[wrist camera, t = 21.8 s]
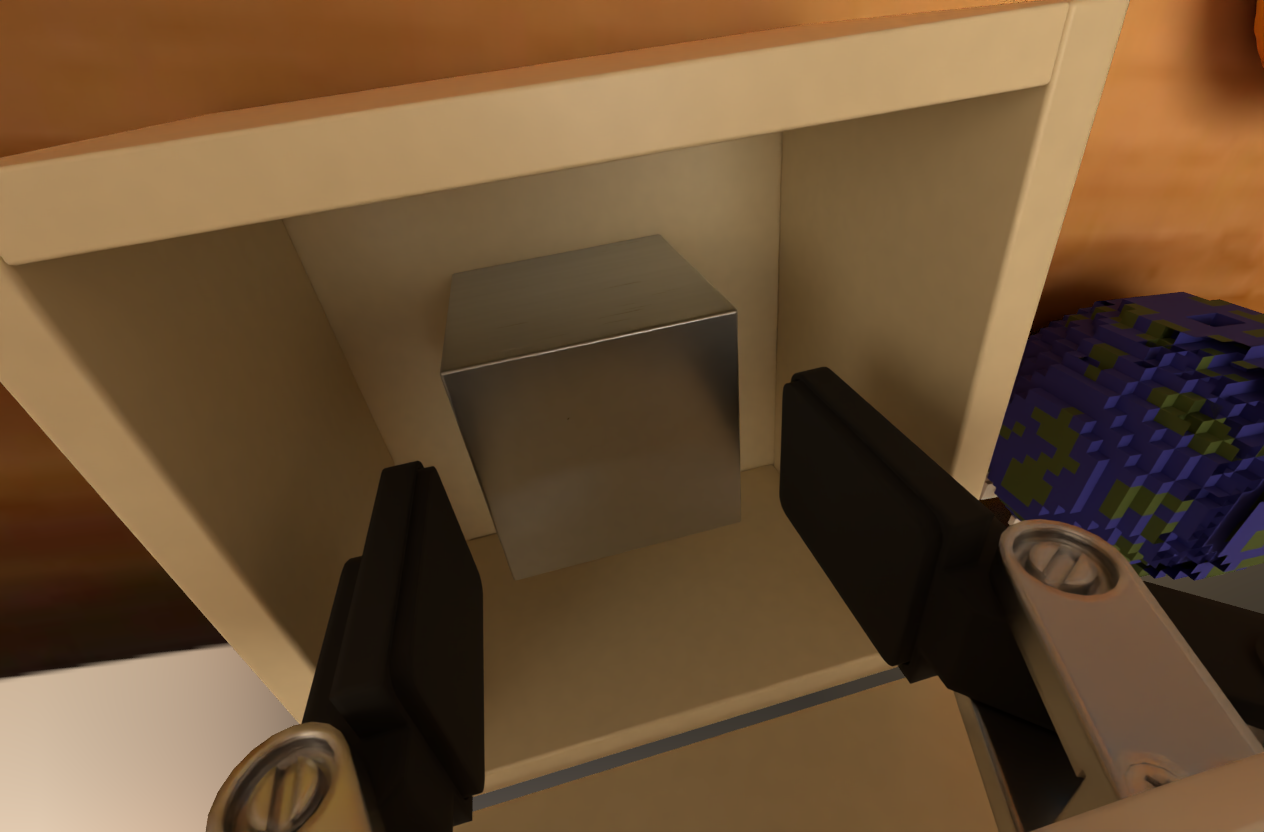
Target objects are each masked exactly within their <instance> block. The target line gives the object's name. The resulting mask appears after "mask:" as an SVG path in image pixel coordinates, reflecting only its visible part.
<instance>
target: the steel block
mask: <svg viewBox="0 0 1264 832" xmlns="http://www.w3.org/2000/svg"><path fill="white" fill-rule="evenodd" d="M440 377H441V379H442V382H443V385H444V388H445V391H446V393H447V396H448V399H449V402H450V404H451V407H452V410H453V413H454V416H455V418H456V421H457V424H458V427H459V429H460V432H461V435H462V438H463V440H464V443H465V446H466V449H467V452H468V454H469V457H470V460H471V463H472V465H473V468H474V471H475V474H476V477H477V479H478V482H479V485H480V488H481V490H482V493H483V496H484V499H485V501H486V504H487V507H488V510H489V513H490V515H491V518H492V521H493V524H494V526H495V529H496V532H497V535H498V537H499V540H500V543H501V546H502V549H503V551H504V554H505V557H506V560H507V562H508V565H509V568H510V571H511V574H512V576H513V579H514V580H520V579H524V578H528V577H532V576H535V575H539V574H543V573H547V572H551V571H555V570H558V569H562V568H566V567H570V566H574V565H577V564H581V563H585V562H589V561H593V560H597V559H600V558H604V557H608V556H612V555H616V554H620V553H623V552H627V551H631V550H635V549H639V548H643V547H646V546H650V545H654V544H658V543H662V542H666V541H669V540H673V539H677V538H681V537H685V536H689V535H692V534H696V533H700V532H704V531H708V530H712V529H715V528H719V527H723V526H727V525H731V524H735V523H738V522H740V521H741V479H740V423H739V368H738V313H737V309H736V308H735V307H734V306H733V305H732V304H731V303H730V302H729V301H728V300H727V299H726V298H725V297H724V296H722V295H721V294H720V293H719V292H718V291H717V290H716V289H715V288H714V287H713V286H712V285H711V284H710V283H709V282H708V281H707V280H706V279H705V278H704V277H703V276H702V275H701V274H700V273H699V272H698V271H697V270H696V269H695V268H694V267H693V266H692V265H691V264H690V263H689V262H688V261H687V260H686V259H685V258H683V257H682V256H681V255H680V254H679V253H678V252H677V251H676V250H675V249H674V248H673V247H672V246H671V245H670V244H669V243H668V242H667V241H666V240H665V239H664V238H663V237H662V236H661V235H659V234H657V235H652V236H647V237H641V238H636V239H631V240H626V241H621V242H615V243H610V244H605V245H600V246H595V247H589V248H584V249H579V250H574V251H569V252H563V253H558V254H553V255H548V256H543V257H537V258H532V259H527V260H522V261H517V262H511V263H506V264H501V265H496V266H491V267H485V268H480V269H475V270H470V271H465V272H459V273H454V274H453V275H452V281H451V289H450V297H449V305H448V313H447V321H446V329H445V337H444V345H443V353H442V361H441V369H440Z"/></svg>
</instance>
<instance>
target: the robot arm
mask: <svg viewBox="0 0 1264 832" xmlns="http://www.w3.org/2000/svg"><path fill="white" fill-rule="evenodd" d="M779 498H780V503H781V506H782V509H783V511H784V513H785V514H786V516H787V517H788V519H789V520H790V522H791V523H792V525H793V526H794V528H795V529H796V531H797V532H798V534H799V535H800V537H801V538H802V540H803V541H804V543H805V544H806V546H807V547H808V549H809V550H810V552H811V553H812V555H813V556H814V558H815V559H816V561H817V562H818V564H819V565H820V567H821V568H822V569H823V571H824V572H825V574H826V575H827V577H828V578H829V580H830V581H831V583H832V584H833V586H834V587H835V589H836V590H837V592H838V593H839V595H840V596H841V598H842V599H843V601H844V602H845V604H846V605H847V607H848V608H849V610H850V611H851V613H852V614H853V616H854V617H855V619H856V620H857V621H858V623H859V624H860V626H861V627H862V629H863V630H864V632H865V633H866V635H867V636H868V638H869V639H870V641H871V642H872V644H873V645H874V647H875V648H876V650H877V651H878V653H879V654H880V656H881V657H882V658H883V660H884V661H885V662H886V663H887V664H888V665H890V666H892V667H893V666H896V665H898V667H899V668H900V670H901V671H902V673H903V674H904V676H905V677H906V678H907V680H908V681H909V683H910V684H912V683H915V682H918V681H921V680H924V679H928V678H931V677H934V676H937V675H938V677H939V678H940V680H941V681H942V682H943V684H944V685H945V686H946V688H947V689H950V690H952V691H953V692H954V695H955V698H956V701H957V705H958V708H959V711H960V714H961V717H962V720H963V723H964V726H965V729H966V732H967V736H968V739H969V742H970V745H971V748H972V751H973V754H974V757H975V760H976V763H977V767H978V770H979V773H980V776H981V779H982V782H983V785H984V788H985V791H986V794H987V797H988V801H989V804H990V807H991V810H992V813H993V816H994V819H995V822H996V825H997V828H998V832H1264V614H1261V613H1257V612H1254V611H1250V610H1247V609H1243V608H1239V607H1236V606H1232V605H1229V604H1225V603H1221V602H1218V601H1214V600H1211V599H1207V598H1203V597H1200V596H1196V595H1192V594H1189V593H1185V592H1181V591H1178V590H1174V589H1171V588H1167V587H1163V586H1160V585H1156V584H1153V583H1149V582H1145V581H1142V580H1141V578H1140V577H1139V575H1138V574H1137V573H1136V571H1135V570H1134V569H1133V567H1132V566H1131V564H1130V563H1129V562H1128V560H1127V559H1126V558H1125V557H1124V556H1123V555H1122V554H1121V553H1120V552H1119V551H1118V550H1117V549H1116V548H1115V547H1114V546H1112V545H1111V544H1109V543H1108V542H1106V541H1105V540H1103V539H1102V538H1100V537H1099V536H1097V535H1095V534H1093V533H1091V532H1089V531H1086V530H1084V529H1082V528H1080V527H1077V526H1074V525H1070V524H1067V523H1063V522H1060V521H1052V520H1043V519H1035V520H1024V521H1021V522H1018V523H1015V524H1013V525H1010V526H1009V527H1008V528H1007V527H1006V526H1005V525H1004V524H1003V523H1001V522H1000V521H999V520H998V519H997V518H996V517H995V516H994V513H992V512H991V511H990V510H989V509H988V508H987V507H986V506H984V505H983V504H982V503H981V502H980V501H979V500H978V499H977V498H975V497H974V496H973V495H972V494H971V493H970V492H969V491H968V490H966V489H965V488H964V487H963V486H962V485H961V484H960V483H958V482H957V481H956V480H955V479H954V478H953V477H952V476H951V475H949V474H948V473H947V472H946V471H945V470H944V469H943V468H942V467H940V466H939V465H938V464H937V463H936V462H935V461H934V460H932V459H931V458H930V457H929V456H928V455H927V454H926V453H925V452H923V451H922V450H921V449H920V448H919V447H918V446H917V445H916V444H914V443H913V442H912V441H911V440H910V439H909V438H908V437H906V436H905V435H904V434H903V433H902V432H901V431H900V430H899V429H897V428H896V427H895V426H894V425H893V424H892V423H891V422H890V421H888V420H887V419H886V418H885V417H884V416H883V415H882V414H880V413H879V412H878V411H877V410H876V409H875V408H874V407H873V406H871V405H870V404H869V403H868V402H867V401H866V400H865V399H864V398H862V397H861V396H860V395H859V394H858V393H857V392H856V391H854V390H853V389H852V388H851V387H850V386H849V385H848V384H847V383H845V382H844V381H843V380H842V379H841V378H840V377H839V376H838V375H836V374H835V373H834V372H833V371H832V370H831V369H829V368H828V367H819V368H815V369H811V370H806V371H802V372H798V373H795V374H794V375H793V376H792V378H791V382H790V383H786V384H785V385H784V387H783V397H782V426H781V456H780V485H779ZM484 785H485V748H484V647H483V588H482V582H481V578H480V574H479V571H478V569H477V567H476V564H475V562H474V559H473V557H472V554H471V552H470V549H469V547H468V545H467V542H466V540H465V537H464V535H463V532H462V530H461V527H460V525H459V523H458V520H457V518H456V515H455V513H454V510H453V508H452V506H451V503H450V501H449V498H448V496H447V493H446V491H445V488H444V486H443V484H442V481H441V479H440V476H439V474H438V472H437V470H436V468H435V467H434V466H430V467H426V468H424V466H423V464H422V463H421V462H420V461H414V462H409V463H405V464H401V465H396V466H392V467H388V468H385V469H383V470H382V473H381V476H380V481H379V485H378V489H377V494H376V498H375V502H374V506H373V511H372V515H371V519H370V524H369V528H368V532H367V537H366V541H365V545H364V550H363V554H362V556H358V557H354V558H350V559H349V560H348V561H347V562H346V563H345V564H344V567H343V569H342V572H341V576H340V579H339V583H338V587H337V591H336V595H335V598H334V602H333V606H332V610H331V613H330V617H329V621H328V625H327V629H326V632H325V636H324V640H323V644H322V647H321V651H320V655H319V659H318V663H317V666H316V670H315V674H314V678H313V682H312V685H311V689H310V693H309V697H308V700H307V704H306V708H305V712H304V716H303V719H302V723H301V724H299V725H294V726H292V727H290V728H287V729H285V730H283V731H281V732H279V733H277V734H275V735H272V736H271V737H270V738H268V739H267V740H266V741H264V742H263V743H261V744H260V745H259V746H257V747H256V748H255V749H253V750H252V751H251V752H250V753H249V754H248V755H247V756H246V757H245V758H244V759H243V760H242V761H241V762H240V763H239V764H238V765H237V766H236V767H235V768H234V769H233V771H232V772H231V774H230V775H229V777H228V778H227V780H226V781H225V782H224V784H223V785H222V787H221V788H220V790H219V791H218V793H217V796H216V798H215V800H214V802H213V805H212V807H211V810H210V812H209V814H208V820H207V826H206V832H453V827H454V826H457V825H460V824H464V823H467V822H470V821H472V798H473V795H476V794H479V793H482V792H483V790H484Z"/></svg>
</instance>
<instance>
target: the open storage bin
mask: <svg viewBox="0 0 1264 832" xmlns="http://www.w3.org/2000/svg"><path fill="white" fill-rule="evenodd" d="M1129 2H1130V0H1040V1H1030V2H1020V3H1011V4H1001V5H991V6H981V7H971V8H961V9H952V10H942V11H932V12H922V13H912V14H902V15H892V16H883V17H873V18H863V19H853V20H843V21H833V22H823V23H815V24H804V25H796V26H789V27H783V28H776V29H769V30H763V31H756V32H749V33H743V34H736V35H729V36H723V37H716V38H710V39H703V40H696V41H690V42H683V43H676V44H670V45H663V46H657V47H650V48H643V49H637V50H630V51H623V52H617V53H610V54H604V55H597V56H590V57H584V58H577V59H570V60H564V61H557V62H550V63H544V64H537V65H531V66H524V67H517V68H511V69H504V70H497V71H491V72H484V73H478V74H471V75H464V76H458V77H451V78H444V79H438V80H431V81H425V82H418V83H411V84H405V85H398V86H391V87H385V88H378V89H372V90H365V91H358V92H352V93H345V94H338V95H332V96H325V97H318V98H312V99H305V100H299V101H292V102H285V103H279V104H272V105H265V106H259V107H252V108H246V109H239V110H232V111H226V112H219V113H212V114H206V115H202V116H197V117H193V118H187V119H183V120H178V121H173V122H168V123H164V124H159V125H154V126H149V127H144V128H140V129H135V130H130V131H125V132H121V133H116V134H111V135H106V136H101V137H97V138H92V139H87V140H82V141H78V142H73V143H68V144H63V145H59V146H54V147H49V148H44V149H39V150H35V151H30V152H25V153H20V154H16V155H11V156H6V157H1V158H0V382H1V383H2V384H3V385H4V387H5V388H6V389H7V390H8V391H9V392H10V393H11V395H12V396H13V397H14V398H15V399H16V400H17V401H18V403H19V404H20V405H21V406H22V407H23V408H24V409H25V411H26V412H27V413H28V414H29V415H30V416H31V417H32V419H33V420H34V421H35V422H36V423H37V424H38V425H39V427H40V428H41V429H42V430H43V431H44V432H45V433H46V435H47V436H48V437H49V438H50V439H51V440H52V441H53V443H54V444H55V445H56V446H57V447H58V448H59V449H60V451H61V452H62V453H63V454H64V455H65V456H66V457H67V459H68V460H69V461H70V462H71V463H72V464H73V465H74V467H75V468H76V469H77V470H78V471H79V472H80V473H81V475H82V476H83V477H84V478H85V479H86V480H87V481H88V483H89V484H90V485H91V486H92V487H93V488H94V489H95V491H96V492H97V493H98V494H99V495H100V496H101V497H102V499H103V500H104V501H105V502H106V503H107V504H108V506H109V507H110V508H111V509H112V510H113V511H114V512H115V514H116V515H117V516H118V517H119V518H120V519H121V520H122V522H123V523H124V524H125V525H126V526H127V527H128V528H129V530H130V531H131V532H132V533H133V534H134V535H135V536H136V538H137V539H138V540H139V541H140V542H141V543H142V544H143V546H144V547H145V548H146V549H147V550H148V551H149V552H150V554H151V555H152V556H153V557H154V558H155V559H156V560H157V562H158V563H159V564H160V565H161V566H162V567H163V568H164V570H165V571H166V572H167V573H168V574H169V575H170V576H171V578H172V579H173V580H174V581H175V582H176V583H177V584H178V586H179V587H180V588H181V589H182V590H183V591H184V592H185V594H186V595H187V596H188V597H189V598H190V599H191V600H192V602H193V603H194V604H195V605H196V606H197V607H198V608H199V610H200V611H201V612H202V613H203V614H204V615H205V616H206V618H207V619H208V620H209V621H210V622H211V623H212V624H213V626H214V627H215V628H216V629H217V630H218V631H219V632H220V634H221V635H222V636H223V637H224V638H225V639H226V640H227V642H228V643H229V644H230V645H231V646H232V647H233V648H234V650H235V651H236V652H237V653H238V654H239V655H240V656H241V658H242V659H243V660H244V661H245V662H246V663H247V664H248V665H249V667H250V668H251V669H252V670H253V671H254V672H255V674H256V675H257V676H258V677H259V678H260V679H261V680H262V682H263V683H264V684H265V685H266V686H267V687H268V688H269V690H270V691H271V692H272V693H273V694H274V695H275V697H277V699H278V700H279V701H280V702H281V703H282V704H283V706H284V707H285V708H286V709H287V710H288V711H289V712H290V714H291V715H292V716H293V717H294V718H295V719H296V721H297V722H298V723H299V724H301V723H302V719H303V716H304V712H305V708H306V704H307V700H308V697H309V693H310V689H311V685H312V682H313V678H314V674H315V670H316V666H317V663H318V659H319V655H320V651H321V647H322V644H323V640H324V636H325V632H326V629H327V625H328V621H329V617H330V613H331V610H332V606H333V602H334V598H335V595H336V591H337V587H338V583H339V579H340V576H341V572H342V569H343V567H344V564H345V563H346V562H347V561H348V560H349V559H350V558H354V557H358V556H362V554H363V550H364V545H365V541H366V537H367V532H368V528H369V524H370V519H371V515H372V511H373V506H374V502H375V498H376V494H377V489H378V485H379V481H380V476H381V473H382V470H383V469H385V468H388V467H392V466H396V465H401V464H405V463H409V462H414V461H420V462H421V463H422V464H423V466H424V468H426V467H430V466H434V467H435V468H436V470H437V472H438V474H439V476H440V479H441V481H442V484H443V486H444V488H445V491H446V493H447V496H448V498H449V501H450V503H451V506H452V508H453V510H454V513H455V515H456V518H457V520H458V523H459V525H460V527H461V530H462V532H463V535H464V537H465V540H466V542H467V545H468V547H469V549H470V552H471V554H472V557H473V559H474V562H475V564H476V567H477V569H478V571H479V574H480V578H481V582H482V588H483V647H484V748H485V785H484V790H483V792H482V793H479V794H476V795H473V797H474V796H478V795H481V794H485V793H488V792H491V791H494V790H498V789H500V788H504V787H507V786H511V785H513V784H517V783H520V782H524V781H527V780H530V779H533V778H536V777H540V776H543V775H546V774H550V773H553V772H556V771H559V770H563V769H566V768H569V767H573V766H576V765H579V764H582V763H585V762H589V761H592V760H595V759H599V758H602V757H605V756H608V755H612V754H615V753H618V752H621V751H624V750H628V749H631V748H634V747H637V746H641V745H644V744H648V743H651V742H654V741H657V740H661V739H664V738H667V737H670V736H673V735H677V734H680V733H683V732H687V731H690V730H693V729H696V728H700V727H703V726H706V725H709V724H713V723H716V722H719V721H722V720H726V719H729V718H732V717H735V716H739V715H742V714H745V713H748V712H752V711H755V710H758V709H761V708H765V707H768V706H771V705H774V704H778V703H781V702H784V701H788V700H791V699H794V698H797V697H801V696H804V695H807V694H810V693H814V692H817V691H820V690H823V689H827V688H830V687H833V686H836V685H840V684H843V683H846V682H850V681H853V680H856V679H859V678H863V677H866V676H869V675H872V674H876V673H879V672H882V671H885V670H888V669H892V668H895V667H898V665H896V666H893V667H892V666H890V665H888V664H887V663H886V662H885V661H884V660H883V658H882V657H881V656H880V654H879V653H878V651H877V650H876V648H875V647H874V645H873V644H872V642H871V641H870V639H869V638H868V636H867V635H866V633H865V632H864V630H863V629H862V627H861V626H860V624H859V623H858V621H857V620H856V619H855V617H854V616H853V614H852V613H851V611H850V610H849V608H848V607H847V605H846V604H845V602H844V601H843V599H842V598H841V596H840V595H839V593H838V592H837V590H836V589H835V587H834V586H833V584H832V583H831V581H830V580H829V578H828V577H827V575H826V574H825V572H824V571H823V569H822V568H821V567H820V565H819V564H818V562H817V561H816V559H815V558H814V556H813V555H812V553H811V552H810V550H809V549H808V547H807V546H806V544H805V543H804V541H803V540H802V538H801V537H800V535H799V534H798V532H797V531H796V529H795V528H794V526H793V525H792V523H791V522H790V520H789V519H788V517H787V516H786V514H785V513H784V511H783V509H782V506H781V503H780V498H779V485H780V456H781V426H782V397H783V387H784V385H785V384H786V383H790V382H791V378H792V376H793V375H794V374H795V373H798V372H802V371H806V370H811V369H815V368H819V367H828V368H829V369H831V370H832V371H833V372H834V373H835V374H836V375H838V376H839V377H840V378H841V379H842V380H843V381H844V382H845V383H847V384H848V385H849V386H850V387H851V388H852V389H853V390H854V391H856V392H857V393H858V394H859V395H860V396H861V397H862V398H864V399H865V400H866V401H867V402H868V403H869V404H870V405H871V406H873V407H874V408H875V409H876V410H877V411H878V412H879V413H880V414H882V415H883V416H884V417H885V418H886V419H887V420H888V421H890V422H891V423H892V424H893V425H894V426H895V427H896V428H897V429H899V430H900V431H901V432H902V433H903V434H904V435H905V436H906V437H908V438H909V439H910V440H911V441H912V442H913V443H914V444H916V445H917V446H918V447H919V448H920V449H921V450H922V451H923V452H925V453H926V454H927V455H928V456H929V457H930V458H931V459H932V460H934V461H935V462H936V463H937V464H938V465H939V466H940V467H942V468H943V469H944V470H945V471H946V472H947V473H948V474H949V475H951V476H952V477H953V478H954V479H955V480H956V481H957V482H958V483H960V484H961V485H962V486H963V487H964V488H965V489H966V490H968V491H969V492H970V493H971V494H972V495H973V496H974V497H975V498H977V499H978V500H979V498H980V495H981V492H982V488H983V485H984V482H985V478H986V475H987V472H988V468H989V465H990V462H991V459H992V455H993V452H994V449H995V445H996V442H997V439H998V435H999V432H1000V429H1001V426H1002V422H1003V419H1004V416H1005V412H1006V409H1007V406H1008V402H1009V399H1010V396H1011V392H1012V389H1013V386H1014V383H1015V379H1016V376H1017V373H1018V369H1019V366H1020V363H1021V359H1022V356H1023V353H1024V349H1025V346H1026V343H1027V340H1028V336H1029V333H1030V330H1031V326H1032V323H1033V320H1034V316H1035V313H1036V310H1037V306H1038V303H1039V300H1040V297H1041V293H1042V290H1043V287H1044V283H1045V280H1046V277H1047V273H1048V270H1049V267H1050V263H1051V260H1052V257H1053V254H1054V250H1055V247H1056V244H1057V240H1058V237H1059V234H1060V230H1061V227H1062V224H1063V220H1064V217H1065V214H1066V211H1067V207H1068V204H1069V201H1070V197H1071V194H1072V191H1073V187H1074V184H1075V181H1076V177H1077V174H1078V171H1079V168H1080V164H1081V161H1082V158H1083V154H1084V151H1085V148H1086V144H1087V141H1088V138H1089V134H1090V131H1091V128H1092V125H1093V121H1094V118H1095V115H1096V111H1097V108H1098V105H1099V101H1100V98H1101V95H1102V92H1103V88H1104V85H1105V82H1106V78H1107V75H1108V72H1109V68H1110V65H1111V62H1112V58H1113V55H1114V52H1115V49H1116V45H1117V42H1118V39H1119V35H1120V32H1121V29H1122V25H1123V22H1124V19H1125V15H1126V12H1127V9H1128V6H1129ZM657 234H659V235H661V236H662V237H663V238H664V239H665V240H666V241H667V242H668V243H669V244H670V245H671V246H672V247H673V248H674V249H675V250H676V251H677V252H678V253H679V254H680V255H681V256H682V257H683V258H685V259H686V260H687V261H688V262H689V263H690V264H691V265H692V266H693V267H694V268H695V269H696V270H697V271H698V272H699V273H700V274H701V275H702V276H703V277H704V278H705V279H706V280H707V281H708V282H709V283H710V284H711V285H712V286H713V287H714V288H715V289H716V290H717V291H718V292H719V293H720V294H721V295H722V296H724V297H725V298H726V299H727V300H728V301H729V302H730V303H731V304H732V305H733V306H734V307H735V308H736V309H737V313H738V368H739V423H740V479H741V521H740V522H738V523H735V524H731V525H727V526H723V527H719V528H715V529H712V530H708V531H704V532H700V533H696V534H692V535H689V536H685V537H681V538H677V539H673V540H669V541H666V542H662V543H658V544H654V545H650V546H646V547H643V548H639V549H635V550H631V551H627V552H623V553H620V554H616V555H612V556H608V557H604V558H600V559H597V560H593V561H589V562H585V563H581V564H577V565H574V566H570V567H566V568H562V569H558V570H555V571H551V572H547V573H543V574H539V575H535V576H532V577H528V578H524V579H520V580H514V579H513V576H512V574H511V571H510V568H509V565H508V562H507V560H506V557H505V554H504V551H503V549H502V546H501V543H500V540H499V537H498V535H497V532H496V529H495V526H494V524H493V521H492V518H491V515H490V513H489V510H488V507H487V504H486V501H485V499H484V496H483V493H482V490H481V488H480V485H479V482H478V479H477V477H476V474H475V471H474V468H473V465H472V463H471V460H470V457H469V454H468V452H467V449H466V446H465V443H464V440H463V438H462V435H461V432H460V429H459V427H458V424H457V421H456V418H455V416H454V413H453V410H452V407H451V404H450V402H449V399H448V396H447V393H446V391H445V388H444V385H443V382H442V379H441V377H440V369H441V361H442V353H443V345H444V337H445V329H446V321H447V313H448V305H449V297H450V289H451V281H452V275H453V274H454V273H459V272H465V271H470V270H475V269H480V268H485V267H491V266H496V265H501V264H506V263H511V262H517V261H522V260H527V259H532V258H537V257H543V256H548V255H553V254H558V253H563V252H569V251H574V250H579V249H584V248H589V247H595V246H600V245H605V244H610V243H615V242H621V241H626V240H631V239H636V238H641V237H647V236H652V235H657Z"/></svg>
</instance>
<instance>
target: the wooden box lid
mask: <svg viewBox="0 0 1264 832" xmlns="http://www.w3.org/2000/svg"><path fill="white" fill-rule="evenodd" d="M453 832H998V828H997V825H996V822H995V819H994V816H993V813H992V810H991V807H990V804H989V801H988V797H987V794H986V791H985V788H984V785H983V782H982V779H981V776H980V773H979V770H978V767H977V763H976V760H975V757H974V754H973V751H972V748H971V745H970V742H969V739H968V736H967V732H966V729H965V726H964V723H963V720H962V717H961V714H960V711H959V708H958V705H957V701H956V698H955V695H954V692H953V691H952V690H950V689H947V688H946V686H945V685H944V684H943V682H942V681H941V680H940V678H939V677H938V675H937V676H934V677H931V678H928V679H924V680H921V681H918V682H915V683H912V684H910V683H909V681H908V680H907V678H903V679H900V680H897V681H893V682H890V683H887V684H884V685H880V686H877V687H874V688H871V689H867V690H864V691H861V692H858V693H854V694H851V695H848V696H845V697H842V698H838V699H835V700H832V701H829V702H826V703H822V704H819V705H816V706H813V707H809V708H806V709H803V710H800V711H796V712H793V713H790V714H787V715H784V716H780V717H777V718H774V719H771V720H767V721H764V722H761V723H758V724H755V725H751V726H748V727H745V728H742V729H738V730H735V731H732V732H729V733H726V734H722V735H719V736H716V737H713V738H709V739H706V740H703V741H700V742H697V743H693V744H690V745H687V746H684V747H681V748H677V749H674V750H671V751H667V752H664V753H661V754H658V755H655V756H652V757H648V758H645V759H642V760H638V761H635V762H632V763H629V764H626V765H623V766H619V767H616V768H613V769H609V770H606V771H603V772H600V773H596V774H594V775H590V776H587V777H584V778H581V779H577V780H574V781H571V782H567V783H564V784H561V785H558V786H555V787H551V788H548V789H545V790H542V791H538V792H535V793H532V794H529V795H526V796H522V797H519V798H516V799H513V800H509V801H506V802H503V803H500V804H497V805H493V806H490V807H487V808H484V809H480V810H477V811H474V812H472V821H470V822H467V823H464V824H460V825H457V826H454V827H453Z"/></svg>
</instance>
